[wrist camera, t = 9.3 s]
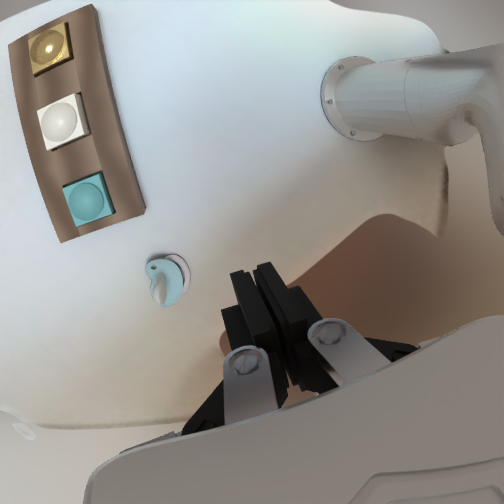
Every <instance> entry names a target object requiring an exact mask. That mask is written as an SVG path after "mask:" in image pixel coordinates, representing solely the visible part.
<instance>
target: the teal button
mask: <svg viewBox="0 0 504 504" xmlns="http://www.w3.org/2000/svg"><path fill="white" fill-rule="evenodd" d="M63 192H64V195H65V198H66V201H67V204H68V206H69V209H70V212H71V215H72V217H73V220H74V222H75V225H76V227H78V226H80V225H83V224H86V223H88V222H91V221H94V220H97V219H99V218H102V217H105V216H108V215H111V214H112V213H113V212H114V210H115V208H114V205H113V202H112V199H111V196H110V193H109V190H108V187H107V184H106V181H105V178H104V174H103V171H101V172H98V173H96V174H93V175H90V176H88V177H85V178H83V179H80V180H78V181H75V182H73V183H70V184H69V185H67V186H66V187H64V188H63Z"/></svg>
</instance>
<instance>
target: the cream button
mask: <svg viewBox="0 0 504 504" xmlns="http://www.w3.org/2000/svg"><path fill="white" fill-rule="evenodd" d="M37 114H38V118H39V122H40V127H41V130H42V134H43V138H44V142H45V146H46V149H47V150H51V149H54V148H57V147H59V146H62V145H64V144H66V143H68V142H71V141H73V140H75V139H78V138H80V137H82V136H85V135H87V134H90V133H91V130H90V127H89V123H88V119H87V115H86V111H85V107H84V103H83V98H82V95H79V94H75V93H74V94H71V95H69V96H67V97H65V98H62V99H60V100H58V101H56V102H54V103H52V104H50V105H48V106H46V107H44V108H42V109H40V110H38V111H37Z"/></svg>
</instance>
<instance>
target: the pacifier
mask: <svg viewBox="0 0 504 504" xmlns="http://www.w3.org/2000/svg"><path fill="white" fill-rule="evenodd" d="M172 261H174V262H176V263H178V264H179V265H180V266H181V267H182V269H183V271H184V276H185V278H184V283H183V279H182V274H181V271H180V269H179V267H178V266H177V265H176V264H175V263H174V262H172ZM153 265H155V266H157V268H156V269H152V268H151V266H153ZM145 271H146V274H147V275H148V276H149V277H150V278H151V279H152V284H151V295H152V298H153V300H154V301H155V302H156V303H157V304H158V305H160V306H163V307H167V306H170V305H172V304H174V303H175V302H176V301H177V300H178V299H179V298H180V296H181V294H183V293H184V292H186V290H187V289H188V287H189V284H190V271H189V268H188V266H187V264H186V262H185V261H184V260H183V259H182V258H181V257H180V256H177V255H169V256H167V257H165V258H164V259H154V260H151V261H150V262H148V263H147V265H146V267H145Z"/></svg>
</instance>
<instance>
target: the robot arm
mask: <svg viewBox="0 0 504 504" xmlns="http://www.w3.org/2000/svg"><path fill="white" fill-rule="evenodd" d="M338 67H339V68H338ZM321 100H322V106H323V109H324V112H325V114H326V116H327V118H328V120H329V122H330V123H331V124H332V126H333V127H334V128H335V129H336V130H337V131H338V132H339V133H341V134H342V135H344V136H345V137H347V138H350V139H353V140H357V141H372V140H375V139H377V138H380V137H381V136H382V135H384V134H388V135H394V136H400V137H406V138H411V139H417V140H422V141H427V142H432V143H437V144H442V145H457V144H460V143H463V142H465V141H467V140H469V139H470V138H471V137H473V136H474V135H475V134H476V133H477V132H479V133H480V136H481V141H482V146H483V151H484V154H485V161H486V168H487V178H488V188H489V198H490V208H491V214H492V219H493V222H494V224H495V227H496V228H497V230H498V231H499V233H500V234H501V235H502V236H503V237H504V43H499V44H496V45H490V46H486V47H481V48H477V49H472V50H467V51H462V52H455V53H446V54H437V55H427V56H420V57H412V58H404V59H397V60H391V61H384V62H378V63H376V62H374V61H372V60H370V59H368V58H364V57H357V56H354V57H348V58H344V59H342V60H340V61H338V62H336V63H335V64H334V65H333V66H331V67H330V69H329V70H328V71H327V73H326V75H325V77H324V79H323V83H322V87H321ZM327 101H328V103H327ZM350 132H351V134H350ZM253 274H254V278H255V282H256V285H255V283H254V281H253V279H252V277H251V275H250V272H246V273H244V271H243V270H240V271H237V272H233V273H230V277H231V280H232V284H233V287H234V291H235V294H236V297H237V301H238V305H235V306H232V307H228V308H225V309H222V310H221V312H222V316H223V320H224V324H225V328H226V331H227V335H228V338H229V342H230V346H231V350H232V351H231V352H230V353H229V354H228V355H227V356H226V358H225V360H224V364H223V380H222V382H221V383H220V384H219V385H218V386H217V388H216V389H215V390H214V391H213V392H212V394H211V395H210V396H209V397H208V398H207V400H206V401H205V402H204V403H203V404H202V405H201V407H200V408H199V409H198V410H197V411H196V412H195V414H194V415H193V416H192V417H191V418H190V419H189V421H188V422H187V423H186V424H185V426H184V428H183V430H182V431H181V432H178V433H176V434H175V433H174V431H173V432H170V433H168V434H165V435H163V436H160V437H158V438H155V439H153V440H150V441H148V442H145V443H142V444H139V445H137V446H134V447H131V448H128V449H126V450H124V451H122V452H120V453H119V455H117V456H115V457H113V458H111V459H109V460H107V461H106V462H104V463H103V464H101V465H100V466H99V467H97V468H96V469H95V471H94V472H93V473H92V475H91V476H90V478H89V480H88V482H87V485H86V489H85V494H84V500H83V504H504V316H491V317H486V318H482V319H479V320H476V321H473V322H470V323H468V324H466V325H464V326H462V327H460V328H458V329H456V330H454V331H452V332H450V333H448V334H446V335H444V336H440V337H437V338H434V339H431V340H428V341H424V342H421V343H419V344H418V347H415V346H413V345H409V344H404V343H397V342H391V341H385V340H378V339H372V338H366V337H362V336H361V335H360V334H359V333H358V332H356V331H355V330H354V329H353V328H352V327H351V326H350V325H349V324H348V323H346V322H345V321H343V320H340V319H335V318H328V319H323V318H322V317H321V315H320V314H319V313H318V311H317V310H316V308H315V307H314V306H313V304H312V303H311V301H310V300H309V299H308V297H307V296H306V294H305V293H304V292H303V290H302V289H301V287H300V286H295V287H292V288H289V289H288V288H287V287H286V285H285V283H284V282H283V280H282V279H281V277H280V276H279V274H278V273H277V271H276V270H275V268H274V267H273V265H272V263H271V262H267V263H263V264H260V265H257V269H256V270H253ZM286 371H287V373H288V375H289V378H290V380H291V382H292V384H293V386H295V385H299V387H300V389H301V391H302V392H303V391H305V390H309V391H312V392H315V396H314V397H312V398H309V399H307V400H304V401H301V402H298V403H295V404H292V405H290V406H287V407H284V408H282V407H281V406H282V405H283V403H284V402H285V400H286V399H287V397H288V393H287V388H289V383H288V378H287V374H286Z"/></svg>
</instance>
